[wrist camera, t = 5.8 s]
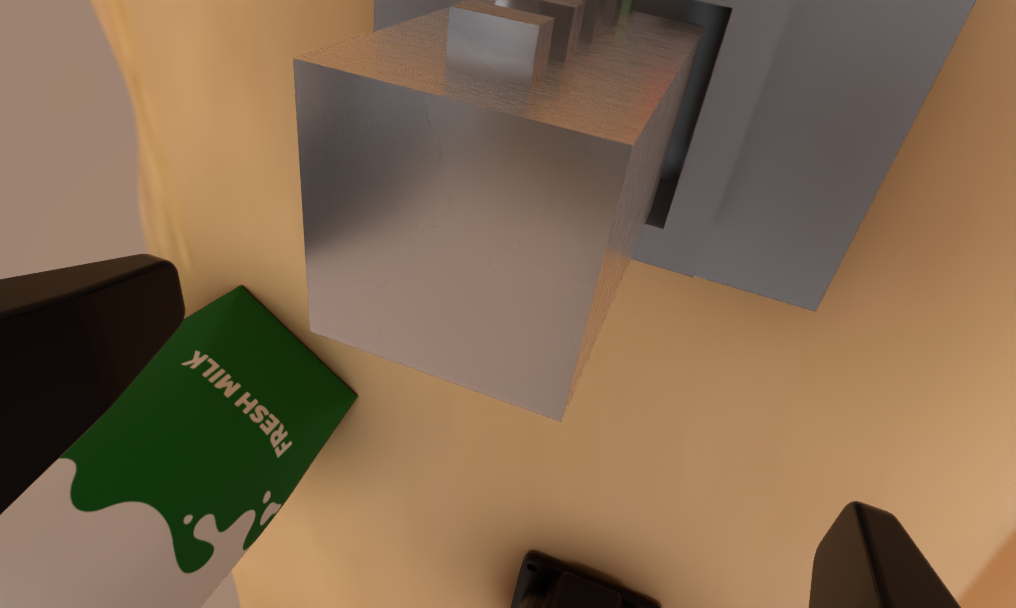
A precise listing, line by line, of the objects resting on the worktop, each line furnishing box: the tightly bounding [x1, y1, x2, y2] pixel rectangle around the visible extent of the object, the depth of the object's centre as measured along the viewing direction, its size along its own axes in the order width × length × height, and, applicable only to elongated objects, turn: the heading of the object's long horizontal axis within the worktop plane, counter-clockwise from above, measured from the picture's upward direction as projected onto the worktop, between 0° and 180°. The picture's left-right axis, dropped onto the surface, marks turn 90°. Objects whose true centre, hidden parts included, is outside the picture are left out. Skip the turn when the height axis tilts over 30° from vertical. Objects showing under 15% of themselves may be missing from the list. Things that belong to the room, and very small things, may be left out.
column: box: [293, 0, 705, 422], centre depth 11 cm, size 5×4×8 cm
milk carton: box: [0, 286, 357, 608], centre depth 22 cm, size 9×9×20 cm
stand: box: [374, 0, 976, 311], centre depth 15 cm, size 10×14×4 cm
